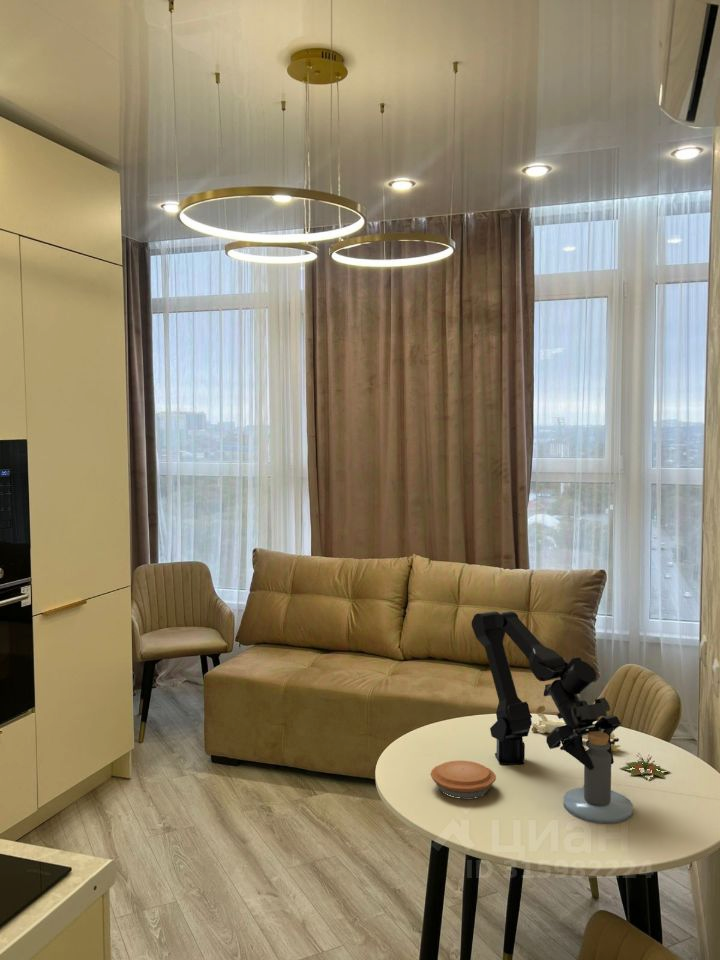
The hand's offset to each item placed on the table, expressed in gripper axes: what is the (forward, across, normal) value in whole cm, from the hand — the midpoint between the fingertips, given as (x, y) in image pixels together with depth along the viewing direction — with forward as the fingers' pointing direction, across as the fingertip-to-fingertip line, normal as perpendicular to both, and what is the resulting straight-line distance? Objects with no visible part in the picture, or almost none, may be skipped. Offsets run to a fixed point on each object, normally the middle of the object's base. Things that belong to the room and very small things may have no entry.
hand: (602, 766), depth 179 cm
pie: (-9, -21, +24) cm, 34 cm away
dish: (+6, 0, +8) cm, 10 cm away
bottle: (+5, 0, +7) cm, 9 cm away
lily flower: (0, +26, +15) cm, 30 cm away
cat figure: (-16, +25, +32) cm, 44 cm away
